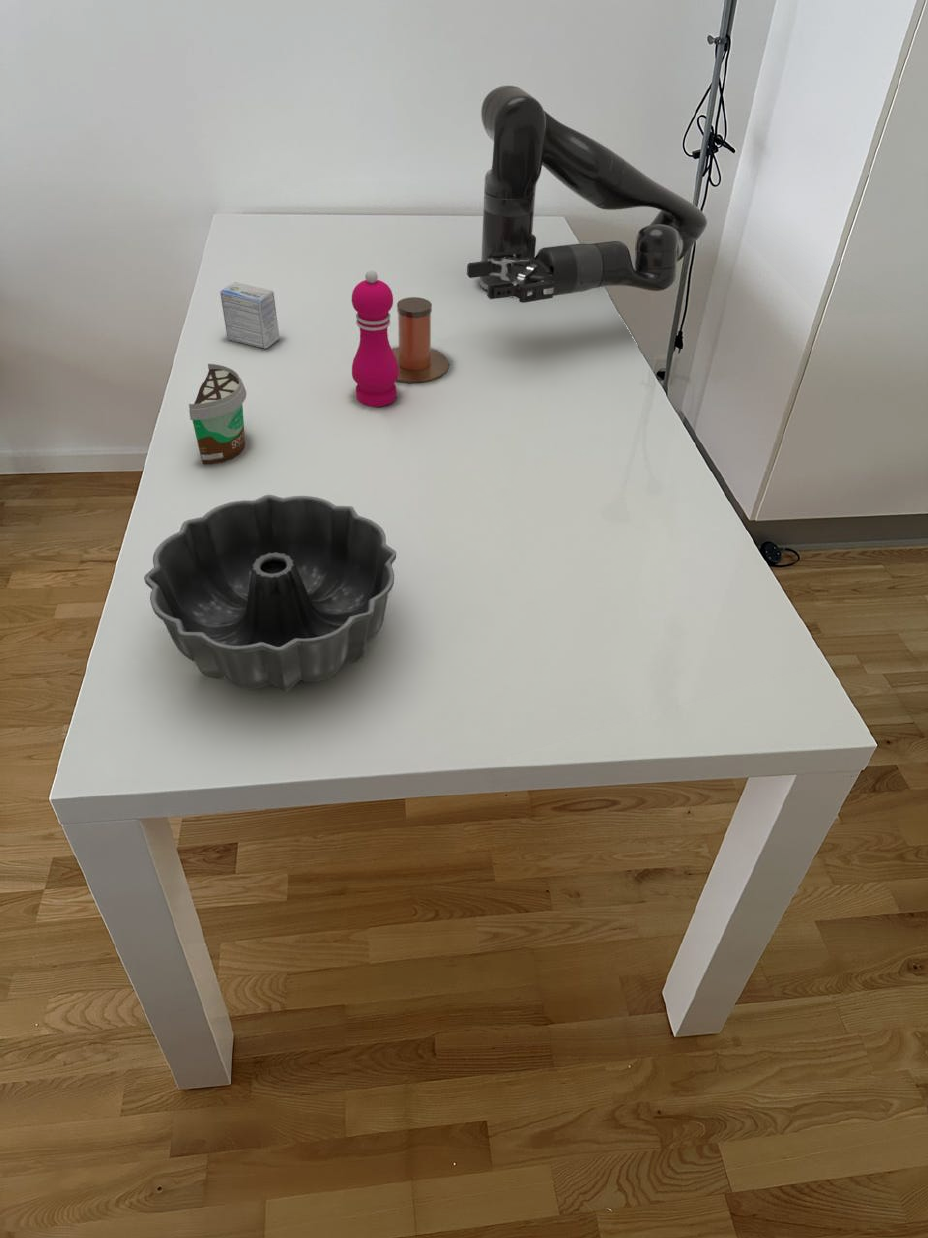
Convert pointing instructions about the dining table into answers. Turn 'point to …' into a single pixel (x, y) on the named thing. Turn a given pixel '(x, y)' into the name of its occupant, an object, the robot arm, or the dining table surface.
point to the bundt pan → (273, 589)
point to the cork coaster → (430, 373)
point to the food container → (219, 415)
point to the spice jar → (414, 333)
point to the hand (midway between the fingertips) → (477, 280)
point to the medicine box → (250, 315)
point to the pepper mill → (374, 343)
